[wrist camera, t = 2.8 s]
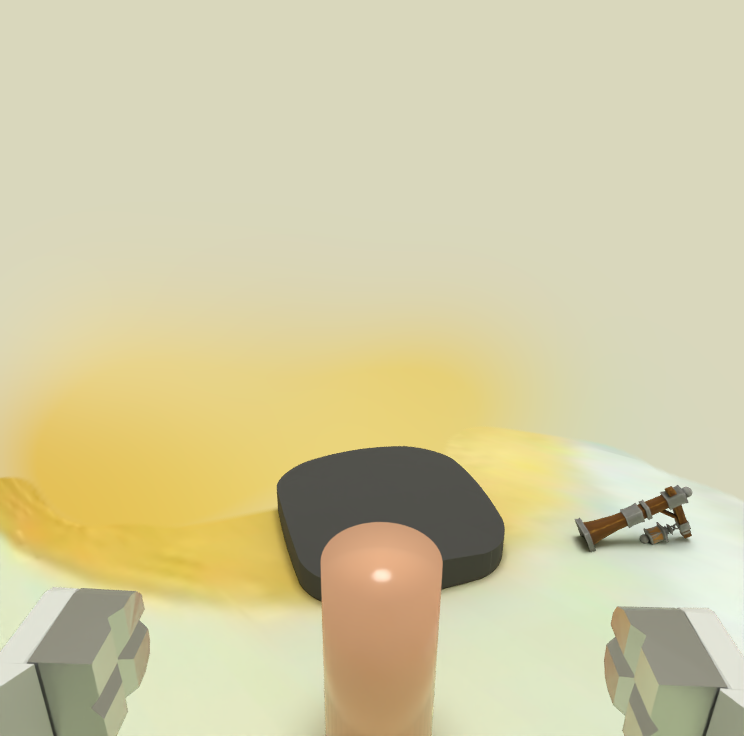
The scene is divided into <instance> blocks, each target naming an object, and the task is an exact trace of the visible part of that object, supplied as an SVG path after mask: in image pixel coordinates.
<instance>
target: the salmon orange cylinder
mask: <svg viewBox="0 0 744 736" xmlns="http://www.w3.org/2000/svg"><path fill="white" fill-rule="evenodd" d="M442 568H443V561H442V556H441V553H440V551H439V549H438V548H437V546H436V545H435V544H434V542H433V541H432V540H431V539H430V538H428V537H427V536H426V535H424V534H423V533H421V532H419V531H418V530H415V529H413V528H411V527H408V526H405V525H401V524H396V523H389V522H371V523H364V524H359V525H356V526H353V527H350V528H347V529H345V530H343V531H342V532H340V533H338V534H337V535H336V536H334V537H333V538H332V539H331V540H330V541H329V542H328V543H327V545H326V546H325V548H324V550H323V552H322V556H321V594H322V628H323V663H324V698H325V733H326V736H431V735H432V720H433V704H434V689H435V674H436V659H437V644H438V629H439V614H440V599H441V583H442Z"/></svg>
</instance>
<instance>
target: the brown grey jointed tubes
mask: <svg viewBox="0 0 744 736" xmlns="http://www.w3.org/2000/svg"><path fill="white" fill-rule="evenodd" d="M660 493H661V495H660V496H658V497H655V498H653V499H651V500H648V501H646V502H644V501H643V500H642V501H639V504H638V505H636V503H634V504H633V505H632V506H629V507H627V508H625V509H621V510H620V513H617V514H615V515H612V516H609V517H605V518H601V519H598V520H594V521H589V522H582V520H581V519H580V518H579V519H575V522H576V524H577V527H578V530H579V533H580V535H581V536H584V538H585V539H586V541H587V543H588V546H589V549H590V551H591V552H592V551H596V550H595V547H594V545H595V544H596V543H598V542H599V541H600V540H602V539H603V538H605V537H607V536H609V535H610V534H612V533H614V532H616V531H617V530H619V529H622V528H624V527H626V526H628V527H629V528H630V527H632V526H633V525H636V524H638V523H641V522H645V520H644V519H646V518H648V520H650V519H652V515H654V514H656V513H659V512H661V513H663V514H665V515H668V516H670V517H672V518H675V522H676V524H674V525H673V526H669V525H668V524H666V525H667V528H666V527H665V526H664V527H663V526H661V525H660V524H659V523H658V522H656V523H657V526H655V527H652V528H649V529H645V528H644V532H645V534H643V535H641V536H640V541H641V542H642V543H648V542H649V541H650V543H651V544H652V545H654V544H656V543H658V542H660V541H662V540H665V541H666V542H668V537H667V535H668V534H669V532H670V533H671V534H672V535H673V531H674V530H675V529H679V530H680V533H681V535H682V536H683V537H684V538H688V537H690V536H692V535H691V531H690V529H691V528H690V525H689V522H688V521H687V520H686V517H685V514H684V511H683V508H682V504H684V503H688V500H687V497H690V496H691V495H692V490H691V489H690V488H688V487H684V488H682V489H681V488H680V487H679V486H678V485H677V486H675V487H672V486H670V487H668V488H665V491H664V492H660ZM667 508H669V509H670V510H672V509H673V512H674V514H673V513H671V512H669V511H667V510H665V509H667ZM675 525H677V527H678V528H675ZM671 527H673V528H674V529H673V530H672V528H671Z"/></svg>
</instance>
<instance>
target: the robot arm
mask: <svg viewBox="0 0 744 736" xmlns="http://www.w3.org/2000/svg"><path fill="white" fill-rule="evenodd" d="M144 609H145V608H144V604H143V599H142V595H141V594H140V593H138V592H136V591H122V590H104V589H87V588H81V589H74V588H59V587H53V588H51V589H49V590H48V591H46V592H45V593H44V594H43V595H42V596H41V598H40V599H39V600H38V602H37V603H36V604H35V606H34V607H33V608H32V610H31V611H30V612H29V614H28V615H27V616H26V618H25V619H24V620H23V622H22V623H21V624H20V626H19V627H18V628H17V630H16V631H15V632H14V634H13V635H12V636H11V638H10V639H9V640H8V642H7V643H6V644H5V646H4V647H3V648H2V650H1V651H0V736H117V734H118V732H119V730H120V728H121V725H122V723H123V721H124V719H125V717H126V714H127V712H128V709H127V703H126V697H127V696H128V695H130V694H131V693H132V692H134V691H135V690H136V689H137V688H139V686H140V683H141V681H142V679H143V676H144V674H145V672H146V667H147V663H148V658H149V654H150V638H149V632H148V628H147V627H146V626H145V625H144V624H143V623H142V622H141V621H140V620H139V619H140V617H141V615H142V613H143V611H144ZM611 626H612V629H613V631H614V634H615V636H616V637H615V638H613V639H612V640H611V641H610V642H609V643H608V644H607V645H606V652H605V658H604V666H605V679H606V684H607V688H608V692H609V695H610V698H611V700H612V703H613V705H614V706H615V707H616V708H617V709H618V710H619V711H620V712H621V713H623V714H624V715H625V721H624V725H623V730H622V731H623V733H624V736H744V657H743V655H742V653H741V652H740V650H739V649H738V647H737V646H736V644H735V643H734V641H733V640H732V638H731V637H730V635H729V634H728V632H727V631H726V629H725V628H724V626H723V625H722V623H721V621H720V620H719V618H718V617H717V615H716V614H715V613H714V612H713V611H712V610H710V609H709V608H677V609H676V608H659V607H617V608H616V609H615V611H614V612H613V616H612V620H611Z"/></svg>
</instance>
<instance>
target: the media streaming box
mask: <svg viewBox="0 0 744 736" xmlns="http://www.w3.org/2000/svg"><path fill="white" fill-rule="evenodd" d="M277 498H278V511H279V517H280V522H281V526H282V530H283V534H284V538H285V542H286V545H287V549H288V552H289V555H290V558H291V561H292V564H293V567H294V570H295V572H296V575H297V578H298V580H299V583H300V585H301V586H302V588H303V589H304V590H305V591H306V592H307V593H308V594H310V595H311V596H313V597H314V598H316V599H318V600H320V601H322V594H321V556H322V552H323V550H324V548H325V546H326V545H327V543H328V542H329V541H330V540H331V539H332V538H333V537H334V536H336V535H337V534H338V533H340V532H342V531H343V530H345V529H347V528H350V527H353V526H356V525H359V524H364V523H371V522H389V523H396V524H401V525H405V526H408V527H411V528H413V529H415V530H418V531H419V532H421V533H423V534H424V535H426V536H427V537H428V538H430V539H431V540H432V541H433V542H434V544H435V545H436V546H437V548H438V549H439V551H440V553H441V556H442V561H443V568H442V583H441V589H443V588H447V587H451V586H455V585H459V584H463V583H466V582H470V581H473V580H477V579H481V578H483V577H485V576H487V575H489V574H490V573H491V572H493V571H494V570H495V569H496V568H497V566H498V565H499V563H500V561H501V558H502V550H503V541H504V531H505V529H504V523H503V520H502V518H501V516H500V514H499V513H498V511H497V510H496V508H495V506H494V505H493V503H492V502H491V500H490V499H489V498H488V496H487V495H486V493H485V492H484V491H483V489H482V488H481V487H480V486H479V484H478V483H477V482H476V481H475V480H474V479H473V478H472V476H471V475H470V474H469V473H468V472H467V471H466V470H465V469H464V468H462V467H461V466H460V465H459V464H458V463H457V462H456V461H454V460H453V459H452V458H450V457H448V456H446V455H443V454H440V453H437V452H434V451H431V450H426V449H421V448H415V447H407V446H403V447H401V446H398V447H397V446H393V447H376V448H367V449H359V450H352V451H347V452H342V453H337V454H332V455H328V456H324V457H321V458H317V459H314V460H311V461H307V462H305V463H302V464H300V465H298V466H296V467H295V468H293V469H291V470H290V471H288V472H287V473H286V474H285V475H284V476H283V477H282V478H281V479H280V480H279V482H278V484H277Z"/></svg>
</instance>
